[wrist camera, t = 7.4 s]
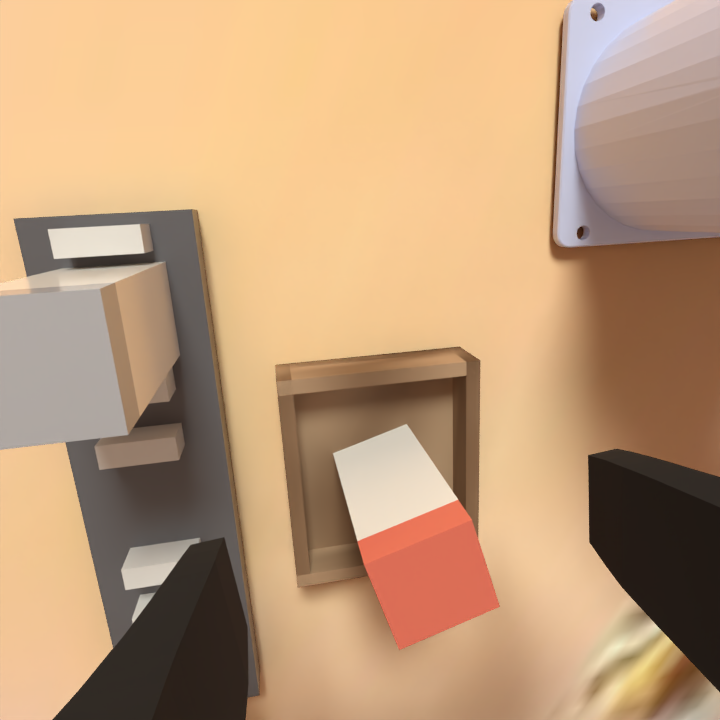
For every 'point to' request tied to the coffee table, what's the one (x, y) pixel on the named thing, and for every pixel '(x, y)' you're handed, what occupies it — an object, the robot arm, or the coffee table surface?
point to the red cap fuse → (413, 537)
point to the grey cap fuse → (82, 351)
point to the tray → (364, 421)
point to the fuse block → (152, 423)
